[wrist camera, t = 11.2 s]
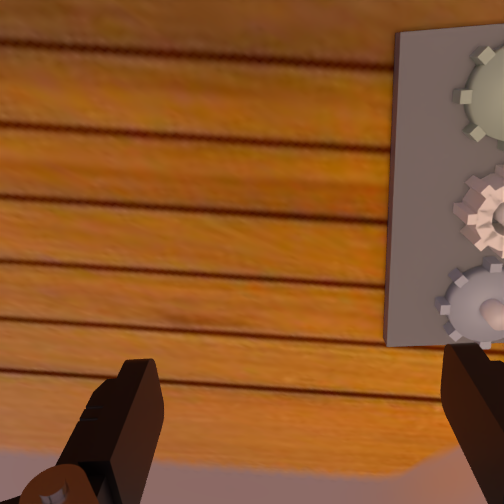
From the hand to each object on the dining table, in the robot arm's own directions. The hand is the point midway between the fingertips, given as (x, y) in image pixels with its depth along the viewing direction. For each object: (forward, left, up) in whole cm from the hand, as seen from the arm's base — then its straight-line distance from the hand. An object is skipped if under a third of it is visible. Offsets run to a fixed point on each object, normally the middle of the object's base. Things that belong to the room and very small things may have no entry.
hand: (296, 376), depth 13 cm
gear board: (+4, +17, -27) cm, 32 cm away
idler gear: (+4, +17, -26) cm, 31 cm away
